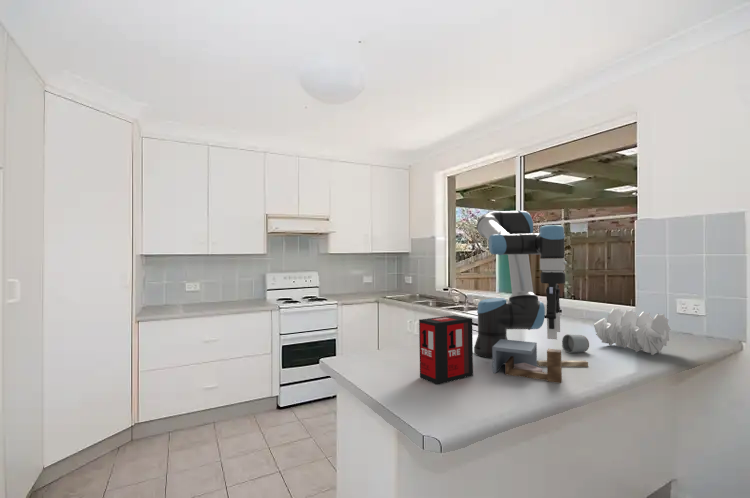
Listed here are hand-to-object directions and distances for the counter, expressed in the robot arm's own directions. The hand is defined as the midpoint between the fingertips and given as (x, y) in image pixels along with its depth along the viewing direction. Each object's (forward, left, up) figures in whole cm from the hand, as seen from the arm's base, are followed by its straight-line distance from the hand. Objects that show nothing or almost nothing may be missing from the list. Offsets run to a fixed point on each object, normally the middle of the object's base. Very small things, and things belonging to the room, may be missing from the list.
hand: (554, 335), depth 126 cm
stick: (+1, +20, -16) cm, 25 cm away
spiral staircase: (+26, +60, -15) cm, 67 cm away
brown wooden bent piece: (-7, +4, -15) cm, 17 cm away
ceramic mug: (+3, +46, -15) cm, 48 cm away
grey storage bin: (-14, +6, -15) cm, 21 cm away
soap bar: (-9, +6, -16) cm, 19 cm away
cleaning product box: (-33, -13, -15) cm, 39 cm away
